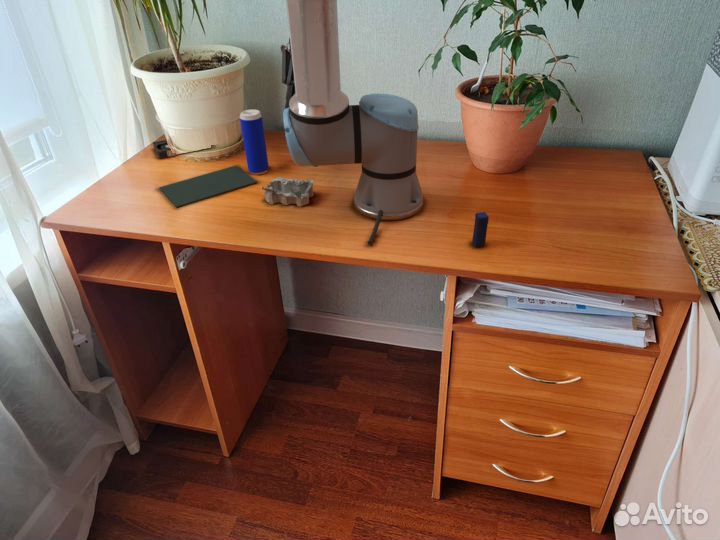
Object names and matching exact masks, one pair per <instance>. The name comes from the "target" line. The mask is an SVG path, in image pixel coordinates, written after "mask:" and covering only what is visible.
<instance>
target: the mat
mask: <svg viewBox="0 0 720 540" xmlns="http://www.w3.org/2000/svg"><path fill="white" fill-rule="evenodd" d="M257 182H258V181H257V180H255V179H254V178H253V177H252V176H250V175H249V174H248V173H247V172H245V171H244V170H242V169H241V168H240V167H239V166H237V165H233V166H229V167H225V168H222V169H219V170H215V171H212V172H208V173H204V174H201V175H198V176H194V177H191V178H188V179H183V180H180V181H176V182H174V183H173V182H172V183H170V184H167V185H163V186H159V190H160V191H161V192H162V193H163V195H164V196H165V197H166V198H167V199H168V200H169V201H170V202H171V203H172V205H174V206H175V208H176V209H177V208H181V207H184V206H188V205H192V204H194V203H197V202H201V201H204V200H207V199H211V198H214V197H217V196H220V195H222V194H223V195H224V194H226V193H229V192H232V191H236V190H239V189H242V188H245V187H249V186H253V185H255V184H258V183H257Z"/></svg>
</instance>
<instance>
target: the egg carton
mask: <svg viewBox="0 0 720 540" xmlns="http://www.w3.org/2000/svg"><path fill="white" fill-rule="evenodd" d="M261 189H262V190H263V191H264V199H265V202H267V203H268V204H269V205H274V204H277V203H281V204H282V205H283V206H289V205H291V204H295V205H296V206H297V207H303V206H306V205H308V204H309V203H310V198H312V197H313V196H314V179H309V180H308V179H306V180H304V179H301V180H300V178H285V177H282V176H281V177H280V176H279V177H276V178H274V179H272V180H271V181H270V182H269V184H267V187H266V186H262V188H261Z"/></svg>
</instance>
